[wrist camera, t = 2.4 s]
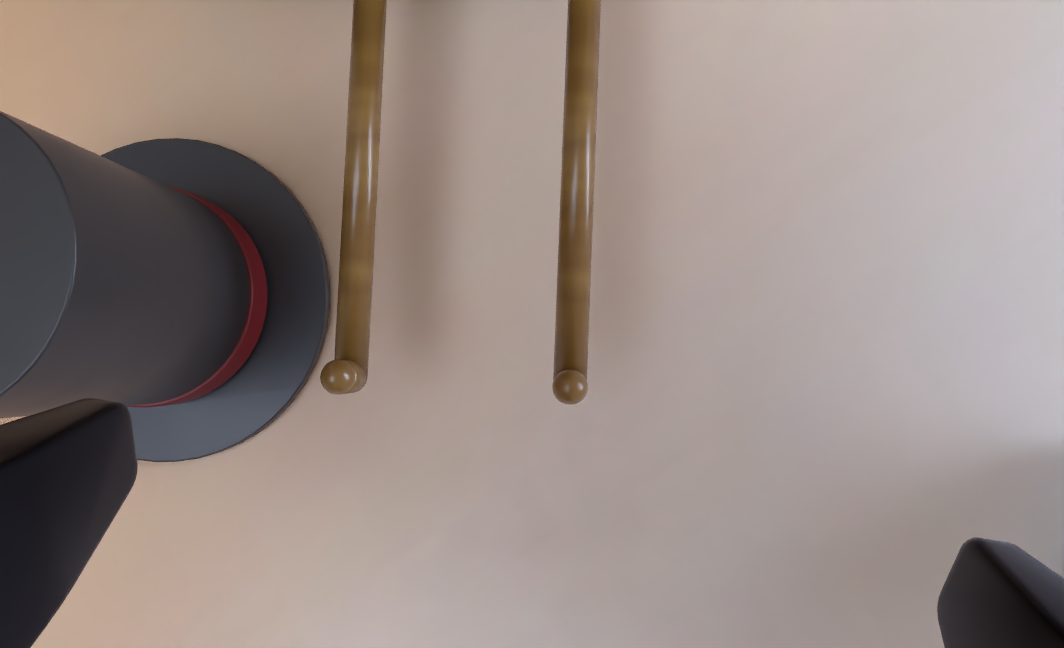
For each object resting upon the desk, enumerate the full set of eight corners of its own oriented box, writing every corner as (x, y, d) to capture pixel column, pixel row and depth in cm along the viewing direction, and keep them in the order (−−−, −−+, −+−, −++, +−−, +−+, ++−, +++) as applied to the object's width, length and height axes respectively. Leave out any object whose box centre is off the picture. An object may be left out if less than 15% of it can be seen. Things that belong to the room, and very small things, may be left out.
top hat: (100, 517, 25) (-216, 622, 15) (-35, 233, 25) (-424, 149, 15) (386, 366, 24) (263, 369, 15) (242, 85, 25) (31, -97, 15)
